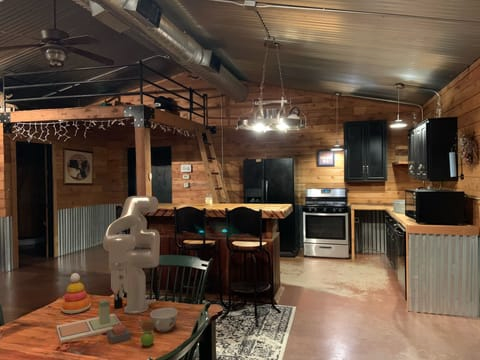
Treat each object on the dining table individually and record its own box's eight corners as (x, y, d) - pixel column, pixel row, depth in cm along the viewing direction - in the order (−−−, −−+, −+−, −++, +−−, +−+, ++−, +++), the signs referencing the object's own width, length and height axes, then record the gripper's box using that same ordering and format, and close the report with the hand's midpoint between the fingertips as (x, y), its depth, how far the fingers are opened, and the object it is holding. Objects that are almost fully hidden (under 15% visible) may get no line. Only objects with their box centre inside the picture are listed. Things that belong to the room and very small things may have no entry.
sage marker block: (107, 319, 170) (107, 299, 170) (109, 322, 167) (109, 301, 167) (99, 321, 168) (98, 300, 168) (100, 324, 165) (100, 303, 165)
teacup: (157, 322, 170) (156, 306, 170) (181, 324, 168) (181, 307, 168) (143, 336, 155) (143, 318, 155) (170, 338, 153) (170, 320, 153)
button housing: (125, 332, 159) (125, 325, 159) (130, 339, 153) (130, 332, 153) (107, 336, 155) (107, 330, 155) (111, 344, 148) (111, 337, 148)
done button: (122, 330, 157) (122, 323, 157) (125, 334, 153) (125, 327, 153) (112, 332, 154) (112, 326, 154) (114, 336, 151) (114, 329, 151)
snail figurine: (139, 342, 150) (139, 314, 149) (155, 342, 150) (155, 313, 150) (137, 348, 144) (136, 319, 144) (153, 348, 145) (152, 319, 145)
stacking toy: (95, 309, 187) (95, 272, 187) (68, 317, 177) (68, 278, 176) (83, 303, 197) (82, 268, 196) (56, 310, 186) (56, 273, 186)
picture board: (113, 315, 179) (113, 313, 179) (123, 328, 164) (123, 325, 164) (56, 327, 165) (56, 325, 165) (60, 343, 150) (60, 340, 150)
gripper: (131, 268, 149) (131, 311, 149) (122, 261, 162) (122, 301, 161) (113, 270, 145) (113, 315, 145) (105, 263, 158) (105, 304, 157)
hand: (118, 308), depth 153 cm, fingers closed
